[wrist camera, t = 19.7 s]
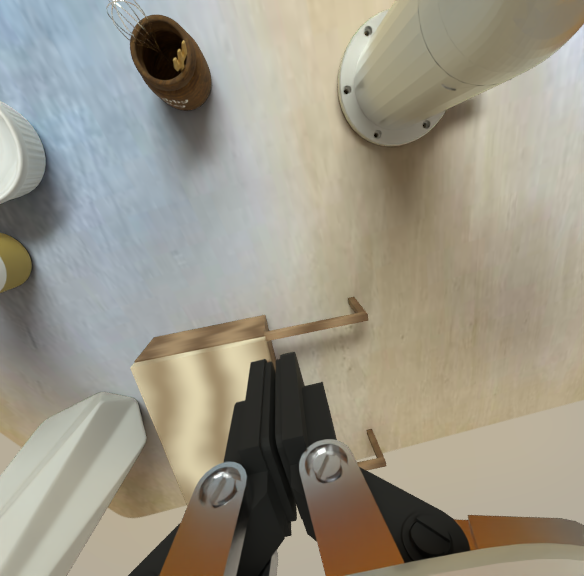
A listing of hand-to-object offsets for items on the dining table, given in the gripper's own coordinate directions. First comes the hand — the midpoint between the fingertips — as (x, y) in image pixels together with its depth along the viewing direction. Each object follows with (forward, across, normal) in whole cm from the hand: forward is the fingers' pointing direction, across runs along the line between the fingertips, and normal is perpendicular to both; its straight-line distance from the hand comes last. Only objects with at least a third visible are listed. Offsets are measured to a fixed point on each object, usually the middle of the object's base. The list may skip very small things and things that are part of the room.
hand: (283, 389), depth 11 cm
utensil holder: (+28, +5, -19) cm, 35 cm away
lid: (+21, +12, +19) cm, 31 cm away
